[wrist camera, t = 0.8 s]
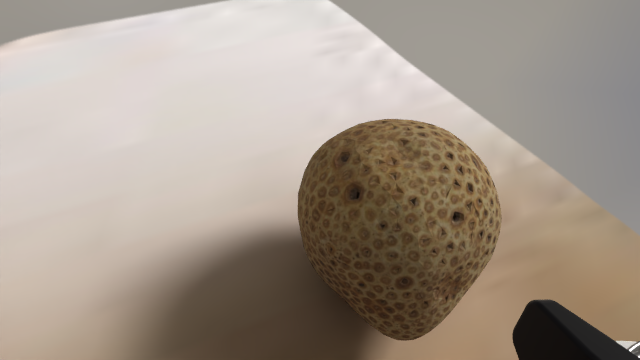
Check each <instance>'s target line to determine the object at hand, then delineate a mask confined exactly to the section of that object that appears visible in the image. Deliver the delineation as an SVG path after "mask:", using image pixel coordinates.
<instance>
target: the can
mask: <svg viewBox="0 0 640 360" xmlns="http://www.w3.org/2000/svg"><path fill="white" fill-rule="evenodd" d="M616 342H617V343H619V344H620V345H622V346H623V347H625V348H626V349H628V350H629V351H630V352H632V353H633V354H635V355H636V356H638V357H639V358H640V341H638V342H632V341H616Z"/></svg>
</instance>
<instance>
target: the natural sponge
mask: <svg viewBox="0 0 640 360" xmlns="http://www.w3.org/2000/svg"><path fill="white" fill-rule="evenodd" d="M501 219H502V218H501V208H500V203H499V200H498V194H497V191H496V188H495V185H494V183H493V180H492V178H491V176H490V174H489V172H488V170H487V168H486V166H485V165H484V163H483V162H482V161H481V159H480V158H479V157H478V156H477V155H476V154H475V153H474V152H473V151H472V150H471V149H470V148H469V147H468V146H467V145H466V144H465V143H464V142H463V141H461V140H460V139H459V138H457V137H456V136H455V135H453V134H452V133H450V132H449V131H447V130H444V129H442V128H440V127H437V126H435V125H432V124H428V123H424V122H418V121H412V120H399V119H384V120H376V121H370V122H365V123H361V124H358V125H356V126H353V127H351V128H349V129H347V130H345V131H343V132H341V133H339V134H337V135H336V136H334V137H333V138H331V139H329V140H328V141H327V142H326V143H324V144H323V145H322V146H321V147H320V148H319V149H318V150H317V151H316V153H315V154H314V155H313V156H312V158H311V160H310V161H309V163H308V165H307V167H306V169H305V172H304V175H303V178H302V182H301V185H300V189H299V192H298V220H299V225H300V231H301V235H302V240H303V245H304V249H305V251H306V254H307V256H308V258H309V260H310V262H311V264H312V266H313V267H314V269H315V270H316V272H317V273H318V275H319V276H320V277H321V278H322V279H323V280H324V281H325V282H326V283H327V284H328V285H329V286H330V287H331V288H332V289H333V290H334V291H335V292H336V293H337V294H339V295H340V296H341V297H342V298H344V299H345V300H346V302H347V303H348V304H349V305H350V306H351V307H352V308H353V309H354V310H355V311H356V312H357V313H358V314H359V315H360V316H361V317H362V318H363V319H364V320H365V321H366V322H367V323H369V324H370V325H371V326H373V327H374V328H376V329H377V330H378V331H380V332H381V333H382V334H384V335H386V336H389V337H391V338H394V339H396V340H414V339H417V338H419V337H421V336H423V335H425V334H426V333H428V332H430V331H431V330H432V329H433V328H435V327H436V326H437V325H438V324H439V323H441V322H442V321H443V320H444V319H445V318H446V316H447V315H448V314H449V313H450V312H451V311H452V310H453V308H454V307H455V306H456V305H457V303H458V302H459V301H460V300H461V298H462V297H463V296H464V294H465V293H466V292H467V291H468V289H469V288H470V287H471V286H472V284H473V283H474V282H475V280H476V279H477V278H478V276H479V275H480V273H481V272H482V271H483V269H484V268H485V266H486V265H487V263H488V262H489V260H490V259H491V257H492V254H493V252H494V249H495V246H496V243H497V240H498V236H499V233H500V227H501Z"/></svg>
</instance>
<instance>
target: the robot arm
mask: <svg viewBox="0 0 640 360" xmlns="http://www.w3.org/2000/svg"><path fill="white" fill-rule="evenodd" d="M513 343H514V346H515V349H516V352H517V355H518V358H519V360H640V358H639V357H638V356H636V355H635V354H633V353H632V352H630V351H629V350H628V349H626V348H625V347H623V346H622V345H620V344H619V343H617V342H616V341H614V340H613V339H611V338H610V337H608V336H607V335H605V334H604V333H602V332H601V331H599V330H598V329H596V328H595V327H593V326H592V325H590V324H589V323H587V322H586V321H584V320H583V319H581V318H580V317H578V316H577V315H575V314H574V313H572V312H571V311H569V310H568V309H566V308H565V307H563V306H562V305H560V304H559V303H557V302H555V301H553V300H532V301H530V302H529V303H528V304H527V306H526V307H525V309H524V311H523V313H522V315H521V317H520V318H519V320H518V322H517V324H516V326H515V328H514V330H513Z"/></svg>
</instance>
